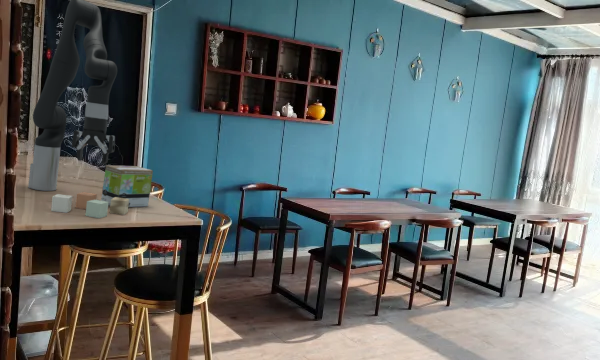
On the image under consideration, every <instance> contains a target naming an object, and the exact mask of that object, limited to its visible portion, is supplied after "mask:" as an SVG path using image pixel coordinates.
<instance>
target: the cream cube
mask: <svg viewBox="0 0 600 360" xmlns="http://www.w3.org/2000/svg"><path fill="white" fill-rule="evenodd" d="M72 204H73V195H68V194H60V193H56V194H55V195H53V196H52V199H51V209H50V210H51V212H57V213H66V214H67V213H68V212H69V213H70V211H71V210H72Z"/></svg>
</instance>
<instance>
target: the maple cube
mask: <svg viewBox="0 0 600 360" xmlns="http://www.w3.org/2000/svg"><path fill="white" fill-rule="evenodd" d="M128 205H129V199H125V198H118V197H114V198H113V199H111V205H110V206H109V213H110V214H114V215H115V214H116V215H122V216H125V215H126V214H128V211H129V207H128Z"/></svg>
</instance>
